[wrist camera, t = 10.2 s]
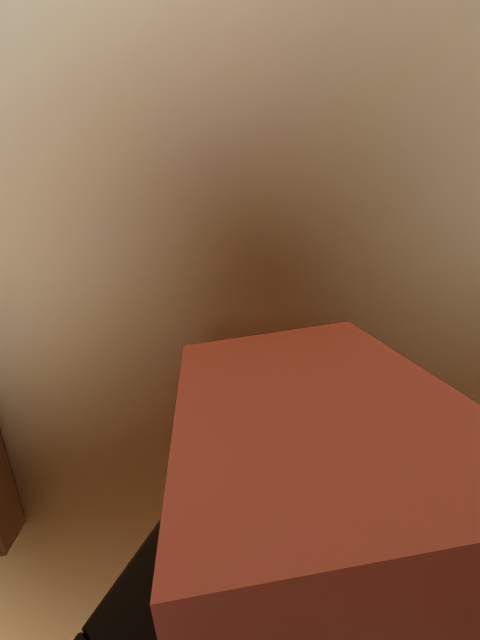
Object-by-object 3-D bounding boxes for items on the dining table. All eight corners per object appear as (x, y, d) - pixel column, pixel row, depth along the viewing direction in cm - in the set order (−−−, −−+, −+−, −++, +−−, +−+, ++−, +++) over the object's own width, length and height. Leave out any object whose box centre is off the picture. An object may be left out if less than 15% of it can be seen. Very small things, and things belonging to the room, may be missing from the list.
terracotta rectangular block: (348, 320, 9) (646, 511, 3) (364, 557, 10) (588, 1006, 4) (183, 345, 9) (150, 605, 3) (222, 584, 10) (256, 1095, 4)
